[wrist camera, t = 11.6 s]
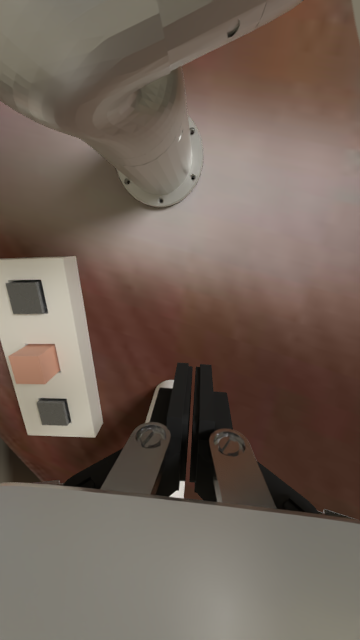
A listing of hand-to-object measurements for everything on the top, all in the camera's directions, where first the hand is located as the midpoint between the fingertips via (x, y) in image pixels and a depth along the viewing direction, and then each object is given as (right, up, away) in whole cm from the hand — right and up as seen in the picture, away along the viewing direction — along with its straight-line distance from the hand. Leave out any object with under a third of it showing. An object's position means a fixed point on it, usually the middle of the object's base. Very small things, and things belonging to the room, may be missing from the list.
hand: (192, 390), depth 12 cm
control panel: (-24, -2, +34) cm, 42 cm away
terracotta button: (-25, -3, +31) cm, 40 cm away
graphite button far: (-24, -12, +38) cm, 46 cm away
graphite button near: (-25, +8, +31) cm, 41 cm away
